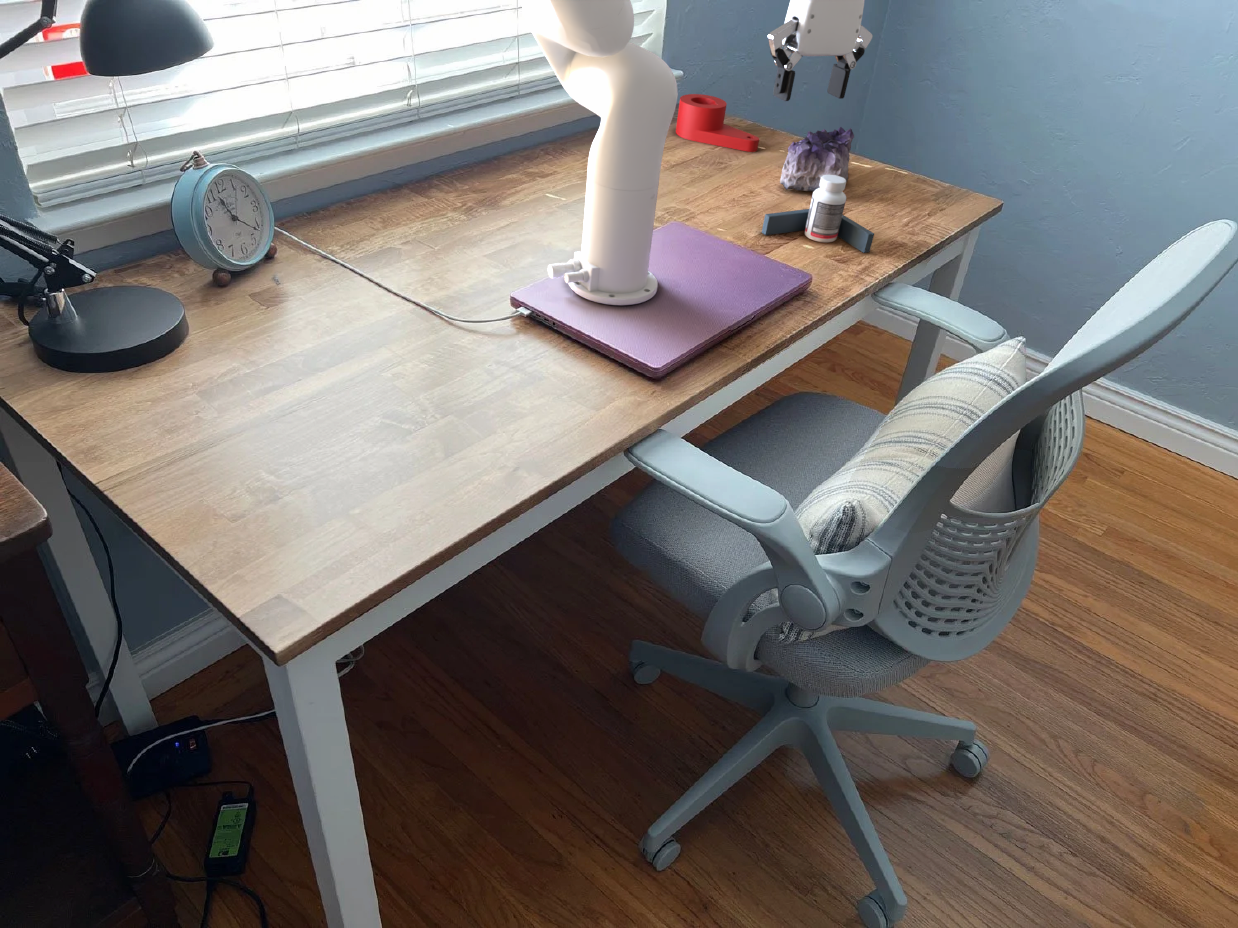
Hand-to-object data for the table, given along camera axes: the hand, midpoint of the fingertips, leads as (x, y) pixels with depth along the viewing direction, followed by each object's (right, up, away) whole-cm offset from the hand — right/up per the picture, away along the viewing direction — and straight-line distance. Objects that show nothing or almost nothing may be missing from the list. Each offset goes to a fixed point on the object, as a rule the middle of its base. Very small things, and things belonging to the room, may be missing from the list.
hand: (808, 97), depth 134 cm
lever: (-7, +14, +59) cm, 60 cm away
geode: (+10, +1, +44) cm, 45 cm away
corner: (+5, -16, +20) cm, 26 cm away
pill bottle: (+6, -15, +22) cm, 27 cm away
